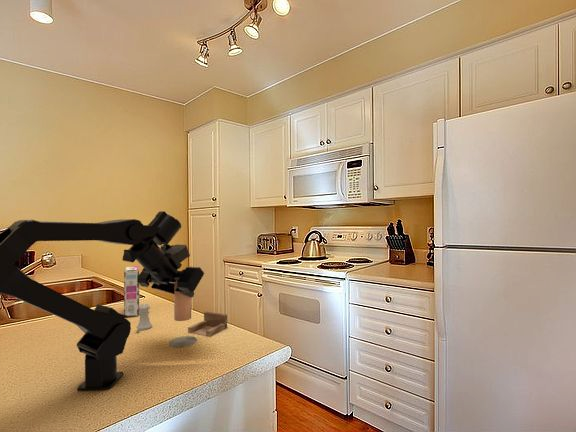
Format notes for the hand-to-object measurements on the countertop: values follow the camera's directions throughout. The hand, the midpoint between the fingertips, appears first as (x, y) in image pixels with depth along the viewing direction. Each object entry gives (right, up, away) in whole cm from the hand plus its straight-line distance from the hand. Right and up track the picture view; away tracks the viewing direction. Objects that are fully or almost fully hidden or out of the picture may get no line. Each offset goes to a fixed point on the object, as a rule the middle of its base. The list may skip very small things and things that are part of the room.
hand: (186, 295), depth 88 cm
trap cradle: (+4, -13, +7) cm, 16 cm away
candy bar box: (-29, -14, +30) cm, 44 cm away
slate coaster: (0, -13, -1) cm, 13 cm away
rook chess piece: (-16, -14, +10) cm, 24 cm away
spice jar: (-1, -6, -1) cm, 6 cm away
